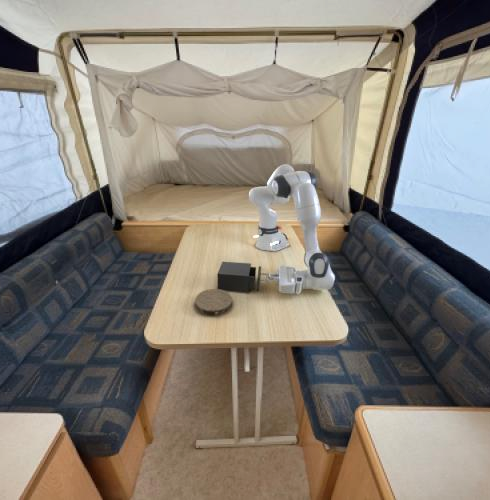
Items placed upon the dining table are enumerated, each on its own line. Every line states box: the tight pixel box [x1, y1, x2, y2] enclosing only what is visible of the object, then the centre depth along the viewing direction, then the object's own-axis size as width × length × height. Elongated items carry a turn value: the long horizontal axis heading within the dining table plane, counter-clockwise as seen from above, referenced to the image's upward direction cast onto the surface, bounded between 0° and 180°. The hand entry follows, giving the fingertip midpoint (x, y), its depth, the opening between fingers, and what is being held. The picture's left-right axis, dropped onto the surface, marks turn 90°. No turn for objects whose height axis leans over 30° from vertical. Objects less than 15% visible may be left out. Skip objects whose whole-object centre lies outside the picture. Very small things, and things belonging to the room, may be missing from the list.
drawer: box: [248, 266, 270, 292], centre depth 129 cm, size 18×11×7 cm, turn 82°
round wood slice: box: [194, 288, 233, 317], centre depth 116 cm, size 16×16×3 cm
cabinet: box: [216, 261, 252, 294], centre depth 130 cm, size 15×13×9 cm
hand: (269, 276), depth 127 cm, fingers closed, pressing on drawer
